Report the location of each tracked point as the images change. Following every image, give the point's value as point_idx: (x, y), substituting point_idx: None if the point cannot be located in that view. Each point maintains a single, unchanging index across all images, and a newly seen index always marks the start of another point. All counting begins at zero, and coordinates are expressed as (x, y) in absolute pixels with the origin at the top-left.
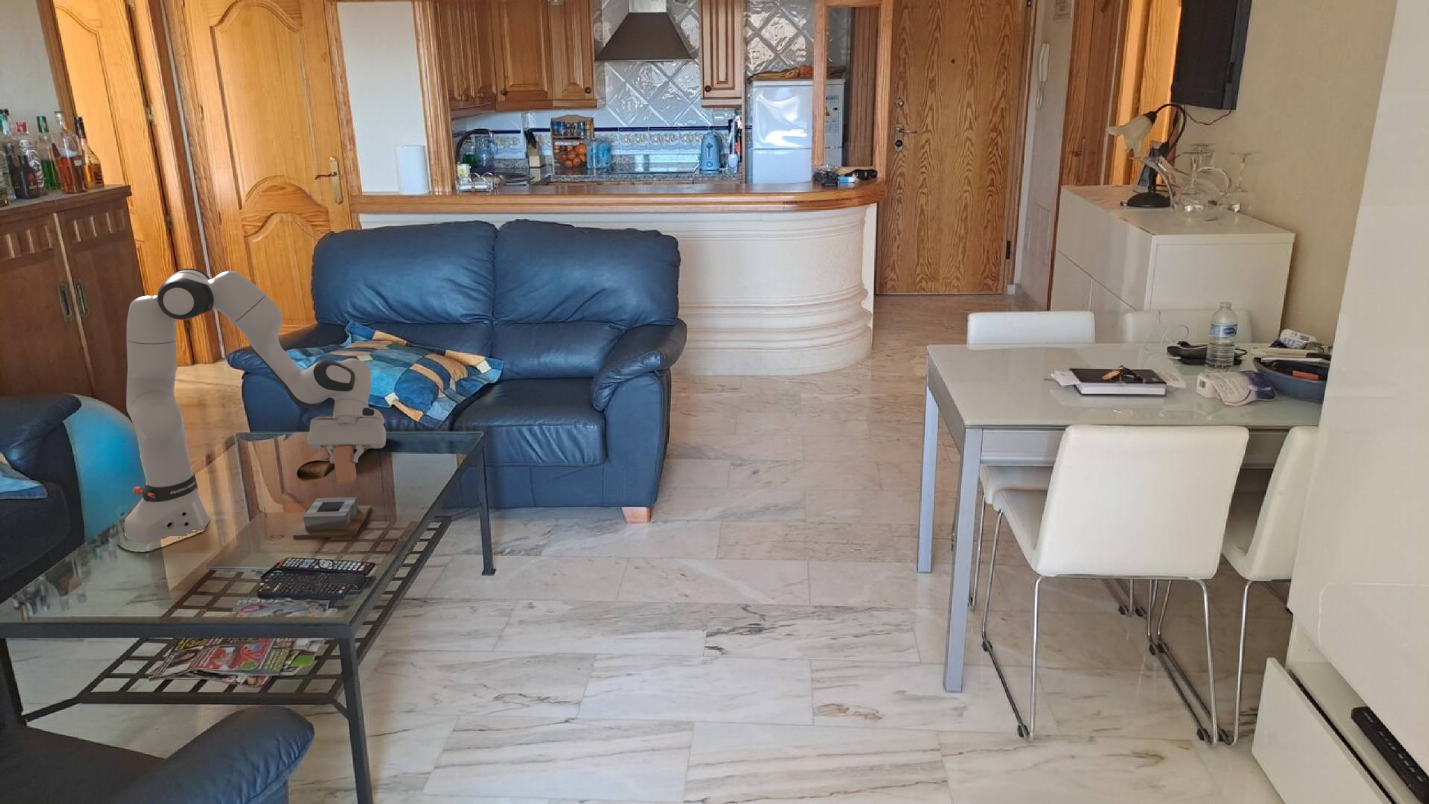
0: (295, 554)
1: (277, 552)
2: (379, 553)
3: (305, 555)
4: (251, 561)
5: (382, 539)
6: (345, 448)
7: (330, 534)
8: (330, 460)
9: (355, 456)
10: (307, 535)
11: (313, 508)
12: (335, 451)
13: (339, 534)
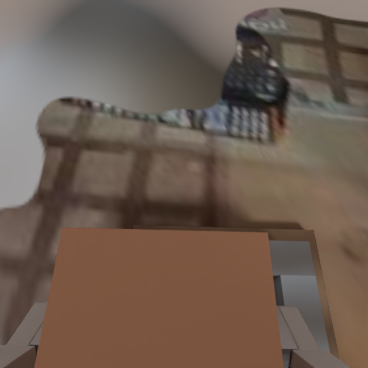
0: (260, 154)
1: (310, 167)
2: (53, 135)
3: (234, 147)
4: (348, 137)
5: (49, 201)
6: (116, 348)
7: (203, 227)
8: (289, 307)
9: (24, 329)
10: (270, 230)
11: (305, 310)
12: (231, 234)
13: (177, 227)
